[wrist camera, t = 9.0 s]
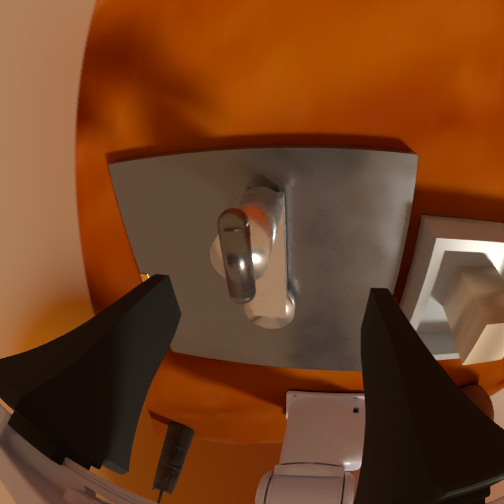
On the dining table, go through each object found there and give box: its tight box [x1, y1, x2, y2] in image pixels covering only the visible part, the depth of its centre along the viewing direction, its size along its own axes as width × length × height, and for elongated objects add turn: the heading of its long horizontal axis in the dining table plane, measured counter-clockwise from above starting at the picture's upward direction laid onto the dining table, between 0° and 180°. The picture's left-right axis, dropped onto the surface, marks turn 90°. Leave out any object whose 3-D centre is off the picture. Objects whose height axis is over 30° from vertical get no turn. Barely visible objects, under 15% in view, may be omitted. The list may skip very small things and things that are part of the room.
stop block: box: [443, 266, 504, 365], centre depth 15 cm, size 4×4×6 cm
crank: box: [210, 186, 296, 329], centre depth 16 cm, size 12×4×7 cm, turn 6°
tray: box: [399, 215, 504, 360], centre depth 17 cm, size 12×12×3 cm
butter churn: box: [152, 423, 194, 504], centre depth 36 cm, size 9×10×28 cm
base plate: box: [108, 144, 418, 371], centre depth 21 cm, size 20×20×1 cm
